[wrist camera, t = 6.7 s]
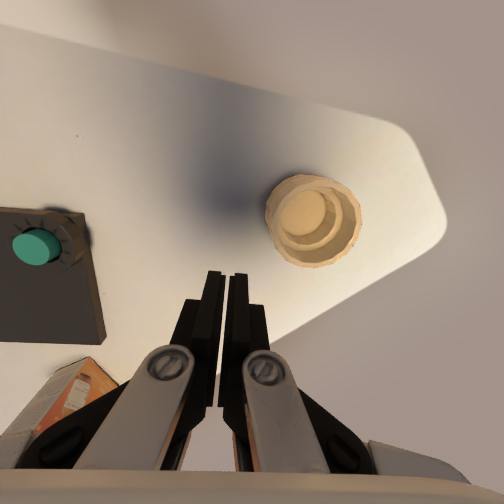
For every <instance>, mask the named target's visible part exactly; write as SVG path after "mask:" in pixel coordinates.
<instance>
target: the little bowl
mask: <svg viewBox="0 0 504 504" xmlns="http://www.w3.org/2000/svg"><path fill="white" fill-rule="evenodd" d="M265 218H266V222H267V225H268V228H269V231H270V234H271V237H272V240H273V242H274V245H275V248H276V249H277V251H278V252H279V253H280V254H281V255H282V256H283V257H284V259H285V260H287V261H289V262H291V263H293V264H295V265H297V266H299V267H307V268H319V267H322V266H325V265H329V264H332V263H334V262H336V261H337V260H338V259H340V258H341V257H343V256H344V255H345V254H347V253H348V252H349V250H350V249H351V247H352V246H353V245H354V243H355V242H356V240H357V239H358V236H359V232H360V228H361V225H362V217H361V209H360V204H359V203H358V201H357V200H356V198H355V196H354V195H353V193H352V192H351V191H350V190H349V189H347V188H346V187H344V186H342V185H340V184H339V183H337V182H335V181H332V180H329V179H325V178H322V177H319V176H316V175H308V174H298V175H295V176H292V177H289V178H287V179H285V180H283V181H282V182H281V183H280V184H279V185H278V186H276V187H275V188H274V189H273V191H272V193H271V195H270V197H269V198H268V200H267V203H266V211H265Z"/></svg>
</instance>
